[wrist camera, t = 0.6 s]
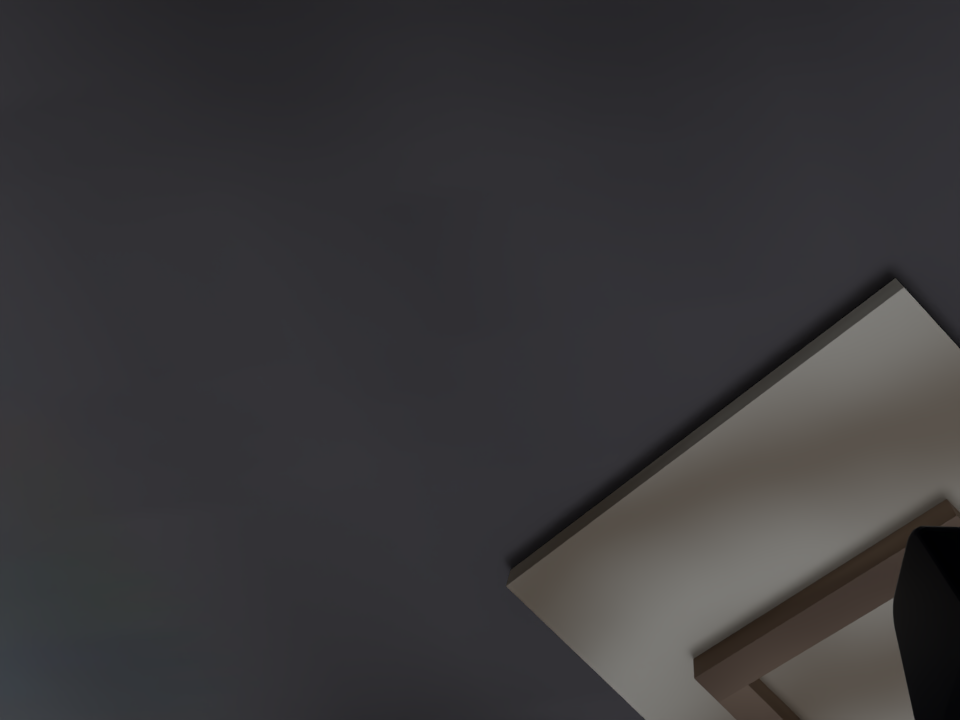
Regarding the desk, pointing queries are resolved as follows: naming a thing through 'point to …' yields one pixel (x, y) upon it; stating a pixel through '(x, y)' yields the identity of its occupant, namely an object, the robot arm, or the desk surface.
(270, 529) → the desk surface
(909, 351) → the beige flat board
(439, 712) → the desk surface
